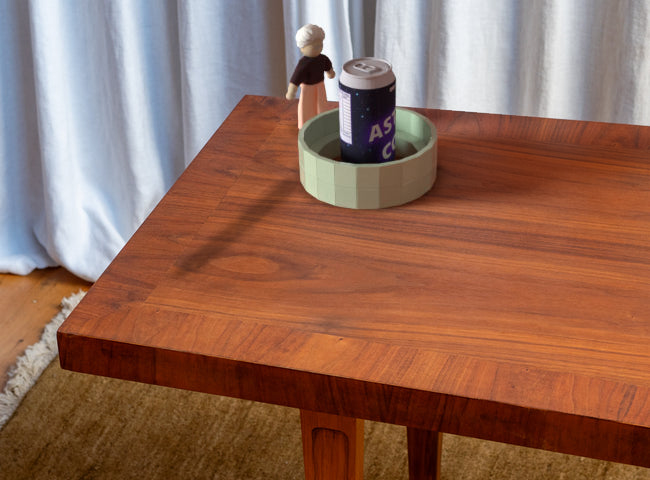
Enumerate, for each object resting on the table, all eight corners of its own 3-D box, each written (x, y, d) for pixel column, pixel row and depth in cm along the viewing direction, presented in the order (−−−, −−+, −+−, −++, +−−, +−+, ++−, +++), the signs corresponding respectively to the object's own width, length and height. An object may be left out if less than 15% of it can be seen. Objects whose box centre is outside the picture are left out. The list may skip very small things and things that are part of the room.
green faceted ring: (430, 148, 99) (432, 102, 96) (439, 214, 88) (442, 165, 84) (304, 151, 100) (302, 105, 96) (297, 217, 89) (294, 168, 85)
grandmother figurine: (313, 148, 100) (307, 38, 92) (284, 141, 102) (276, 33, 94) (346, 121, 105) (343, 15, 97) (318, 115, 107) (313, 10, 99)
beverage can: (371, 195, 90) (370, 83, 83) (330, 178, 93) (326, 68, 86) (405, 174, 93) (408, 64, 86) (365, 158, 97) (363, 51, 89)
